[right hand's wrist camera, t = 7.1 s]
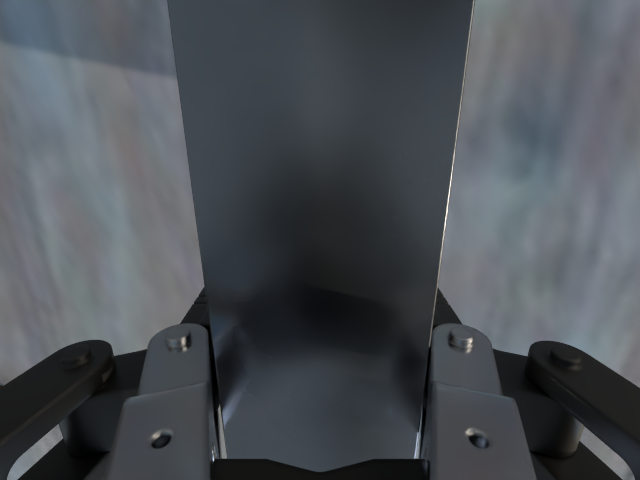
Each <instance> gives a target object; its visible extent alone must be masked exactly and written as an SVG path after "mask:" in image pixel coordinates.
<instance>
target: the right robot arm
mask: <svg viewBox="0 0 640 480" xmlns="http://www.w3.org/2000/svg"><path fill="white" fill-rule="evenodd" d="M219 405H220V400H219V392H218V384H217V377H216V369H215V361H214V354H213V346H212V338H211V331H210V323H209V315H208V308H207V300H206V293H205V287H204V288H203V290H202V291H201V293H200V294H199V297H197V299H196V300H195V302H194V304H193V305H192V306H191V308H190V310H189V311H188V313H187V314H186V316H185V317H184V319H183V320H182V322H181V323H180V324H178V325H174V326H171V327H168V328H166V329H164V330H162V331H160V332H158V333H157V334H156V335H155V336H154V337H153V338H152V339H151V340H150V342H149V344H148V348H147V349H146V350H142V351H137V352H132V353H127V354H122V355H117V356H114V354H113V350H112V347H111V345H110V344H109V343H108V342H106V341H102V340H88V341H82V342H78V343H75V344H72V345H69V346H67V347H64V348H62V349H60V350H58V351H57V352H55V353H53V354H52V355H50V356H49V357H47V358H46V359H44V360H43V361H41V362H40V363H38V364H37V365H35V366H33V367H32V368H30V369H29V370H27V371H26V372H24V373H23V374H21V375H20V376H18V377H17V378H15V379H13V380H12V381H10V382H9V383H7V384H6V385H4V386H3V387H1V388H0V480H7V476H8V473H9V471H10V469H11V467H12V466H13V464H14V463H15V462H16V460H17V459H18V458H19V457H20V456H21V455H22V454H23V453H24V452H26V451H27V450H28V449H29V448H30V447H31V446H33V445H34V444H35V443H36V442H37V441H39V440H40V439H41V438H42V437H43V436H44V435H46V434H47V433H48V432H49V431H50V430H51V429H53V428H54V427H55V426H56V425H57V424H59V427H60V430H61V433H62V435H63V439H62V440H61V441H60V442H59V443H58V444H57V445H55V446H54V447H53V448H52V449H51V450H50V451H49V452H48V453H47V454H45V455H44V456H43V457H42V458H41V459H40V460H39V461H38V462H37V463H35V464H34V465H33V466H32V467H31V468H30V469H29V470H28V471H27V472H26V473H24V474H23V475H22V476H21V477H20V478H19V479H18V480H622V479H621V478H620V477H619V476H618V475H617V474H616V473H615V472H613V471H612V470H611V469H610V468H609V467H608V466H607V465H606V464H605V463H603V462H602V461H601V460H600V459H599V458H598V457H597V456H596V455H595V454H593V453H592V452H591V451H590V450H589V449H588V448H587V447H586V446H585V445H583V444H582V443H581V442H580V441H579V440H580V438H581V435H582V432H583V429H584V426H585V427H586V428H587V429H589V430H590V431H591V432H592V433H593V434H594V435H596V436H597V437H598V438H599V439H600V440H601V441H603V442H604V443H605V444H606V445H607V446H609V447H610V448H611V449H612V450H613V451H614V452H616V453H617V454H618V455H619V456H620V457H621V458H622V459H623V460H624V461H625V462H626V463H627V464H628V466H629V467H630V469H631V470H632V472H633V474H634V477H635V480H640V388H639V387H637V386H636V385H634V384H633V383H631V382H630V381H628V380H627V379H625V378H623V377H622V376H620V375H619V374H617V373H616V372H614V371H613V370H611V369H610V368H608V367H607V366H605V365H603V364H602V363H600V362H599V361H597V360H596V359H594V358H593V357H591V356H590V355H588V354H586V353H585V352H583V351H581V350H579V349H577V348H575V347H572V346H570V345H567V344H564V343H560V342H554V341H539V342H535V343H533V344H532V345H531V346H530V349H529V353H528V356H523V355H518V354H513V353H508V352H503V351H499V350H496V349H493V348H492V344H491V342H490V340H489V339H488V338H487V337H486V336H485V335H484V334H483V333H482V332H480V331H478V330H476V329H474V328H472V327H469V326H466V325H463V324H462V323H461V321H460V320H459V318H458V317H457V315H456V314H455V312H454V311H453V309H452V308H451V306H450V305H448V302H447V300H446V299H445V297H443V294H442V293H441V291H440V290H439V288H438V289H437V297H436V304H435V312H434V320H433V328H432V335H431V343H430V351H429V358H428V366H427V374H426V381H425V389H424V397H423V405H422V412H421V423H420V439H419V455H418V459H371V460H367V461H363V462H360V463H356V464H352V465H348V466H344V467H340V468H337V469H333V470H329V471H325V472H315V471H311V470H307V469H303V468H300V467H296V466H292V465H288V464H284V463H280V462H277V461H273V460H269V459H222V455H221V439H220V423H219V412H218V408H219Z"/></svg>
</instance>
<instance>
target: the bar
mask: <svg viewBox="0 0 640 480" xmlns="http://www.w3.org/2000/svg"><path fill="white" fill-rule="evenodd" d="M167 2H168V10H169V17H170V25H171V33H172V40H173V48H174V55H175V63H176V71H177V78H178V86H179V94H180V101H181V109H182V117H183V124H184V132H185V140H186V147H187V155H188V163H189V170H190V178H191V185H192V193H193V201H194V208H195V216H196V224H197V231H198V239H199V247H200V254H201V262H202V270H203V277H204V285H205V293H206V300H207V308H208V315H209V323H210V331H211V338H212V346H213V354H214V361H215V369H216V377H217V384H218V392H219V400H220V407H221V415H222V422H223V430H224V438H225V445H226V453H227V459H269V460H273V461H277V462H280V463H284V464H288V465H292V466H296V467H300V468H303V469H307V470H311V471H315V472H325V471H329V470H333V469H337V468H340V467H344V466H348V465H352V464H356V463H360V462H363V461H367V460H371V459H415V458H416V451H417V443H418V435H419V427H420V420H421V412H422V404H423V397H424V389H425V381H426V374H427V366H428V358H429V351H430V343H431V335H432V328H433V320H434V312H435V304H436V297H437V289H438V281H439V274H440V266H441V258H442V251H443V243H444V235H445V228H446V220H447V212H448V205H449V197H450V189H451V181H452V174H453V166H454V158H455V151H456V143H457V135H458V128H459V120H460V112H461V105H462V97H463V89H464V82H465V74H466V66H467V58H468V51H469V43H470V35H471V28H472V20H473V12H474V5H475V0H167Z"/></svg>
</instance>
